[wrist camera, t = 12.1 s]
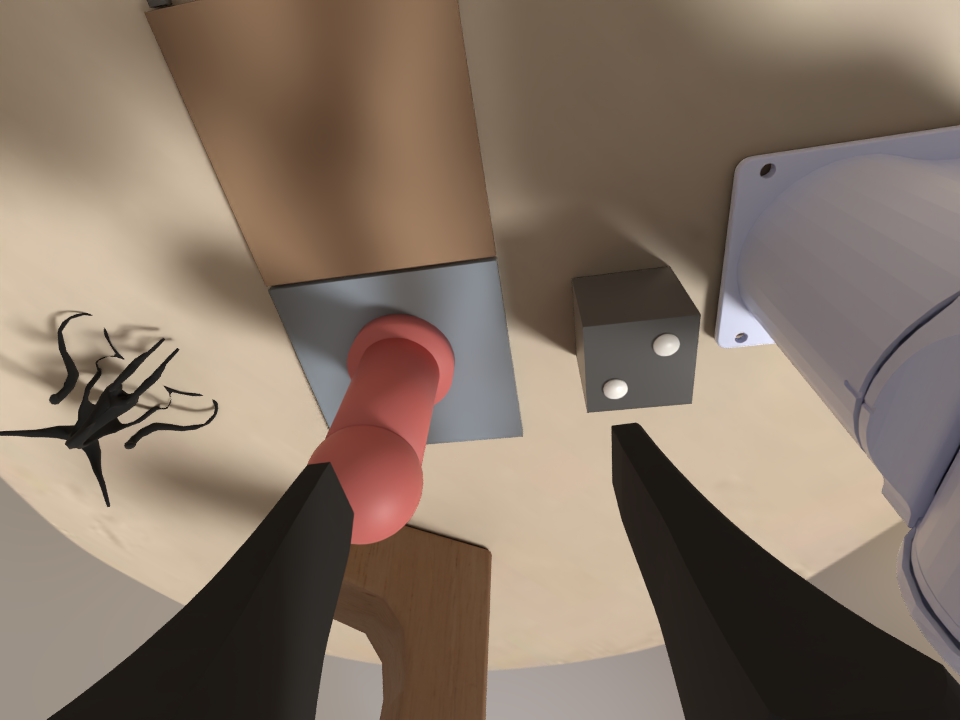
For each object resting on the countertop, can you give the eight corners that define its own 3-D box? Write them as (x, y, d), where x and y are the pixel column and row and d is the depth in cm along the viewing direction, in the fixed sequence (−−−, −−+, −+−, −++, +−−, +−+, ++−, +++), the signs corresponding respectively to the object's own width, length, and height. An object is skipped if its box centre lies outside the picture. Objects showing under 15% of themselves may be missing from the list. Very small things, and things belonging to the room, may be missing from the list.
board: (344, -744, 9) (338, -771, 9) (522, 431, 26) (522, 436, 25) (-98, -557, 11) (-118, -575, 10) (341, 446, 27) (339, 451, 27)
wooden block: (342, 549, 33) (203, 987, 18) (359, 509, 30) (213, 978, 15) (468, 584, 34) (436, 1013, 19) (494, 549, 32) (479, 1009, 17)
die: (670, 266, 20) (701, 315, 17) (665, 347, 22) (692, 404, 19) (571, 278, 21) (583, 328, 17) (576, 356, 23) (587, 413, 20)
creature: (111, 273, 23) (20, 379, 25) (32, 314, 18) (-74, 441, 20) (252, 377, 26) (162, 465, 28) (215, 435, 22) (109, 536, 23)
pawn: (443, 308, 21) (404, 473, 14) (463, 394, 24) (440, 573, 16) (339, 320, 22) (244, 484, 14) (369, 402, 25) (303, 579, 17)
